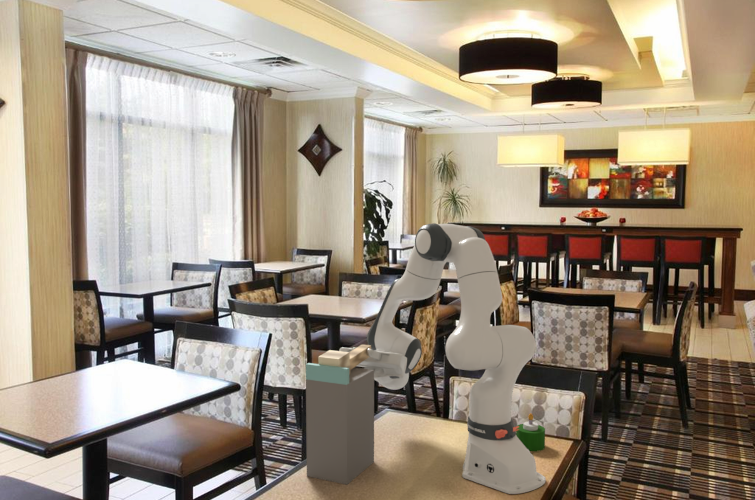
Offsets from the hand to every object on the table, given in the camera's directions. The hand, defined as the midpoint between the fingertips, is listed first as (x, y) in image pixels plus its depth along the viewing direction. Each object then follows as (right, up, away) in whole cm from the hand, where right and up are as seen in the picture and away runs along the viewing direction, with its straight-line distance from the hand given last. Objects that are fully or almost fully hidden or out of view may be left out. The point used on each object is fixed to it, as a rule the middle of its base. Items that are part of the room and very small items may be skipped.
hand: (361, 350), depth 185 cm
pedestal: (-5, -31, -9) cm, 32 cm away
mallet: (-3, -3, -7) cm, 8 cm away
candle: (+50, -30, +7) cm, 58 cm away
